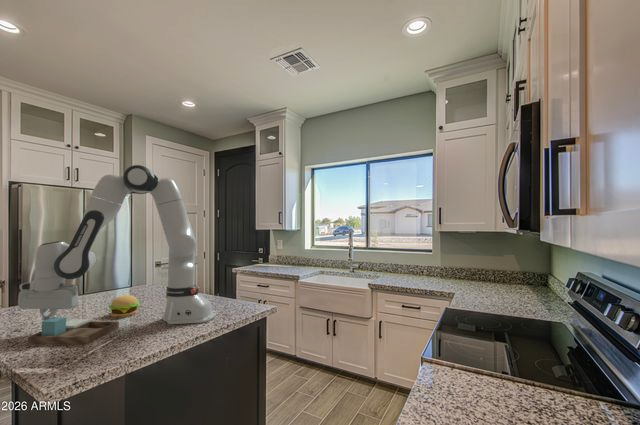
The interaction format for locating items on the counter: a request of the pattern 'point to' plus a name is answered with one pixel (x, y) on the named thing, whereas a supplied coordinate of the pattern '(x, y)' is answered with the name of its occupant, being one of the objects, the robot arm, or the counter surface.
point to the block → (53, 326)
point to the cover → (74, 322)
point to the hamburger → (124, 306)
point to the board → (76, 334)
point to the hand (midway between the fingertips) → (48, 320)
